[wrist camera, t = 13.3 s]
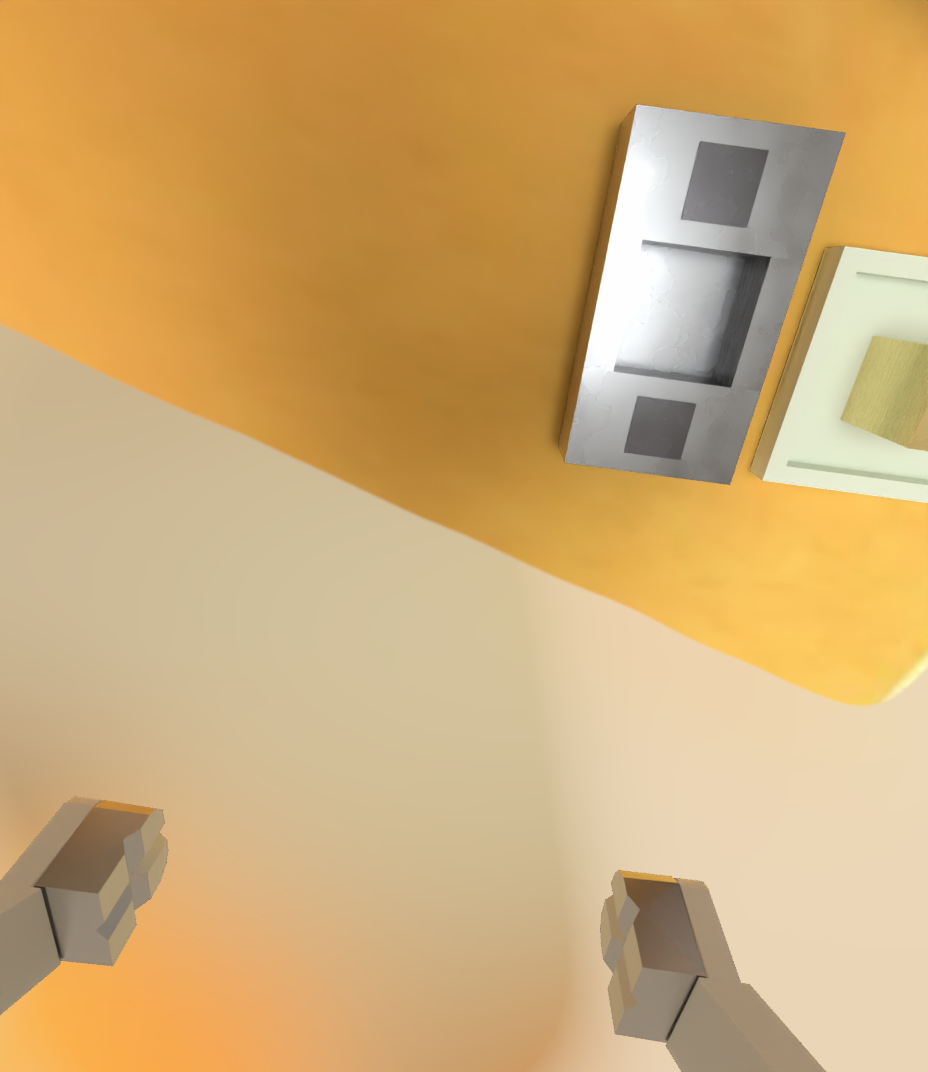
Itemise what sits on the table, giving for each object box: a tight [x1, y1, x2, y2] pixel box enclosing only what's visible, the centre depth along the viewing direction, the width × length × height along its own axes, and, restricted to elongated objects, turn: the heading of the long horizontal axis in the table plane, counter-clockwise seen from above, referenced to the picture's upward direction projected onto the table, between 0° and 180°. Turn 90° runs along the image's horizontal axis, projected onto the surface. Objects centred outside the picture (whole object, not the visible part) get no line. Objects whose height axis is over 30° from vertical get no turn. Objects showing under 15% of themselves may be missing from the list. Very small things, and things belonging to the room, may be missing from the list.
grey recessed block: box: [558, 104, 846, 485], centre depth 30 cm, size 16×9×4 cm, turn 173°
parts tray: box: [750, 246, 928, 503], centre depth 32 cm, size 12×12×2 cm
